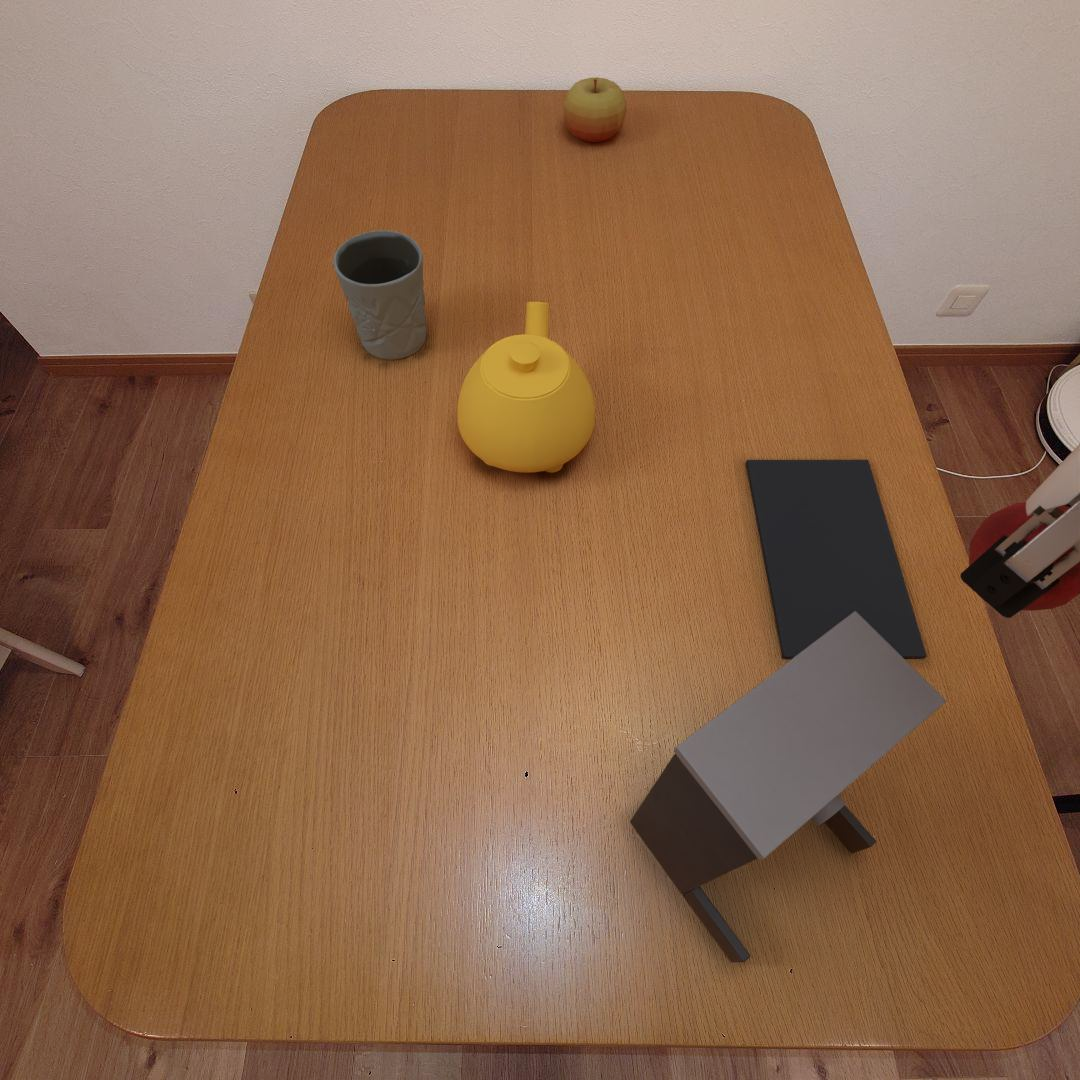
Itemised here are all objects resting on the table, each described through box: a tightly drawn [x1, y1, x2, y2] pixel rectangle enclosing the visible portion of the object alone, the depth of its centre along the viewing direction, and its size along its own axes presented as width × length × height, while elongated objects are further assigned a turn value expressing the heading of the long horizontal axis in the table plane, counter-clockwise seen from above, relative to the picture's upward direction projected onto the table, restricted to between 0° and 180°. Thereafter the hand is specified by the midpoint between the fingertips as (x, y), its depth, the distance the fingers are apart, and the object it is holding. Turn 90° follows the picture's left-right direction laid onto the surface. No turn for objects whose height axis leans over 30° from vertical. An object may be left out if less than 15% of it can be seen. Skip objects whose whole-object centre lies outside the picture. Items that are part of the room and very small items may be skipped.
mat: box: [745, 459, 927, 660], centre depth 76 cm, size 24×14×1 cm, turn 0°
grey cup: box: [332, 229, 428, 361], centre depth 88 cm, size 10×10×12 cm
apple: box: [563, 76, 627, 143], centre depth 113 cm, size 10×10×8 cm
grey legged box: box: [629, 611, 947, 964], centre depth 51 cm, size 13×15×25 cm
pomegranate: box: [968, 501, 1080, 612], centre depth 39 cm, size 6×6×8 cm
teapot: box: [456, 301, 596, 474], centre depth 79 cm, size 20×16×14 cm
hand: (1025, 562), depth 39 cm, fingers closed on pomegranate, 5 cm apart
